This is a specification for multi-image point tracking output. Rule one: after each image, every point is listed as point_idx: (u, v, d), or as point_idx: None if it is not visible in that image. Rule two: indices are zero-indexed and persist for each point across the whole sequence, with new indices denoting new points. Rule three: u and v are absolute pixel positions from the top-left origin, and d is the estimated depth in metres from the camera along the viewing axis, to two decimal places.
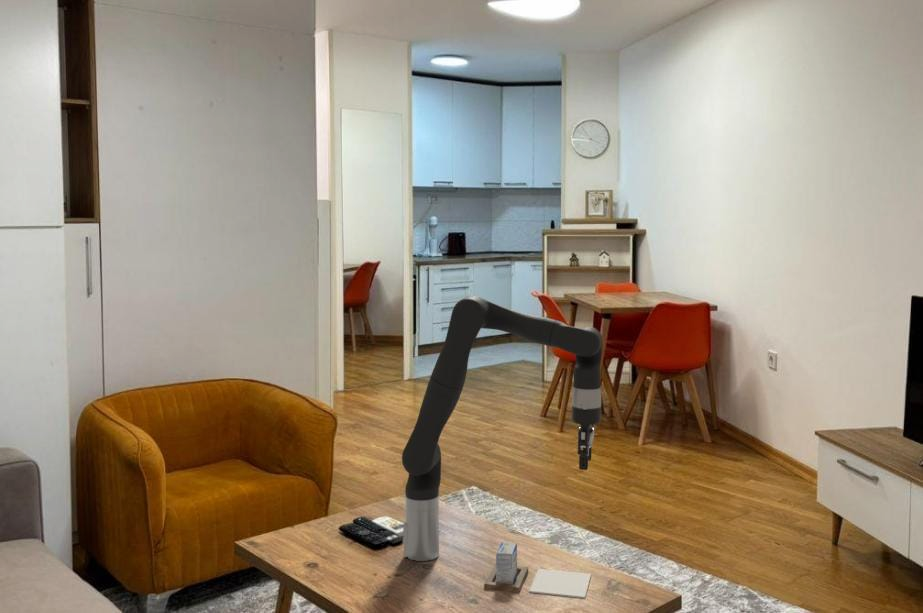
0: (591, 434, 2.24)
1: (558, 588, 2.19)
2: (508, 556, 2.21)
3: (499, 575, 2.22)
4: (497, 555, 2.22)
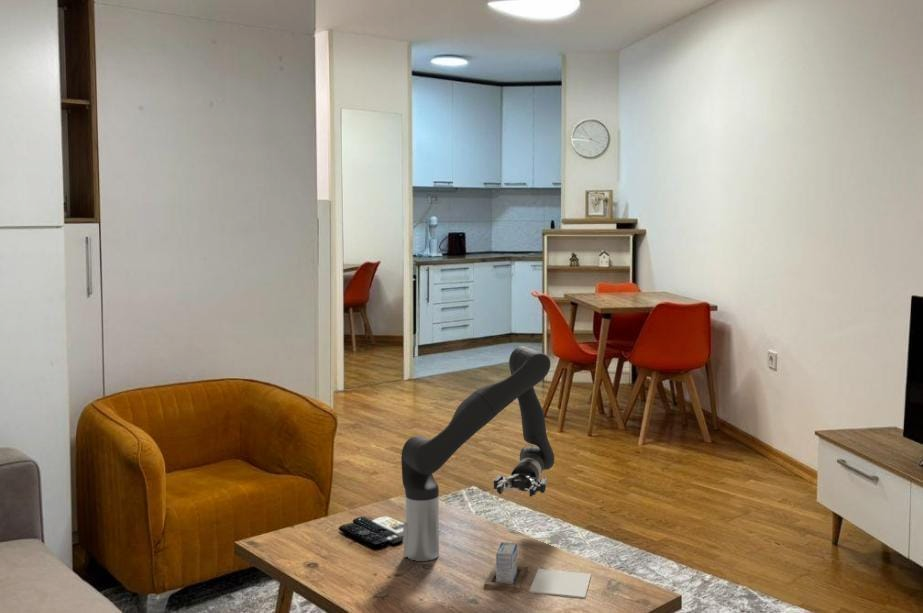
0: None
1: (558, 588, 2.19)
2: (508, 556, 2.21)
3: (499, 575, 2.22)
4: (497, 555, 2.22)
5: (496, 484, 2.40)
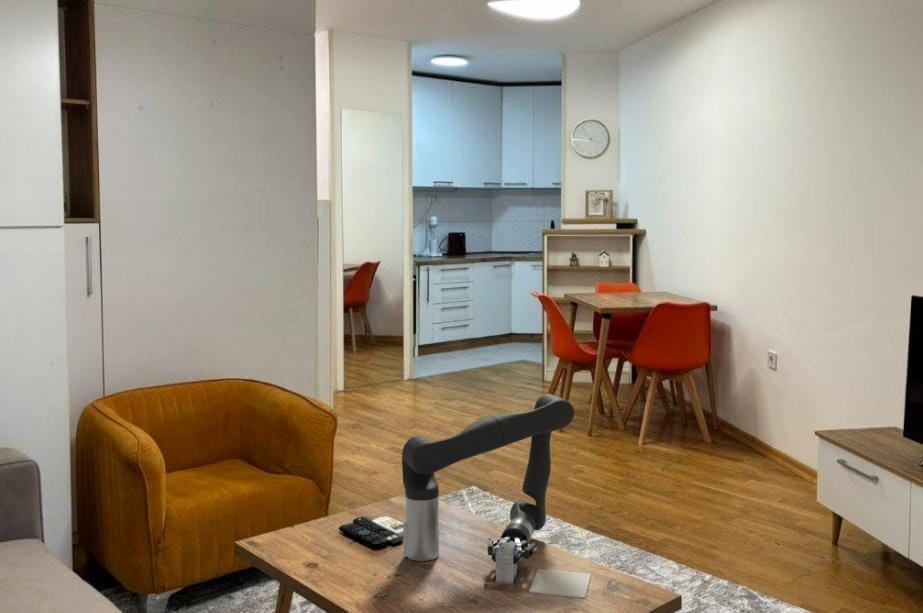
0: None
1: (558, 588, 2.19)
2: (508, 555, 2.21)
3: (499, 574, 2.22)
4: (497, 555, 2.22)
5: (491, 550, 2.28)
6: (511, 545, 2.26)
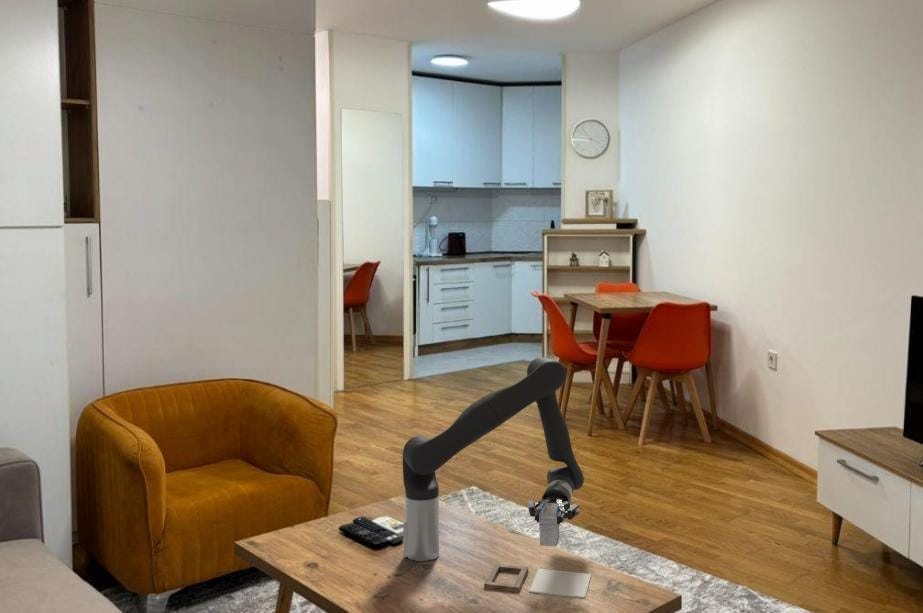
0: None
1: (558, 588, 2.19)
2: (552, 515, 2.18)
3: (543, 535, 2.19)
4: (540, 515, 2.19)
5: (533, 511, 2.25)
6: (554, 506, 2.24)
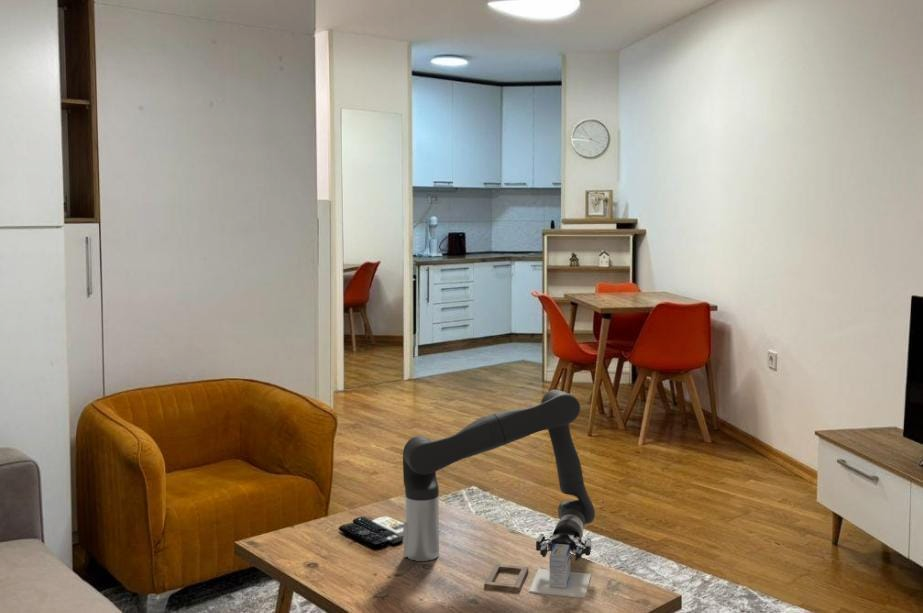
0: None
1: (558, 588, 2.19)
2: (562, 557, 2.19)
3: (553, 576, 2.20)
4: (551, 557, 2.19)
5: (539, 545, 2.26)
6: (565, 547, 2.24)
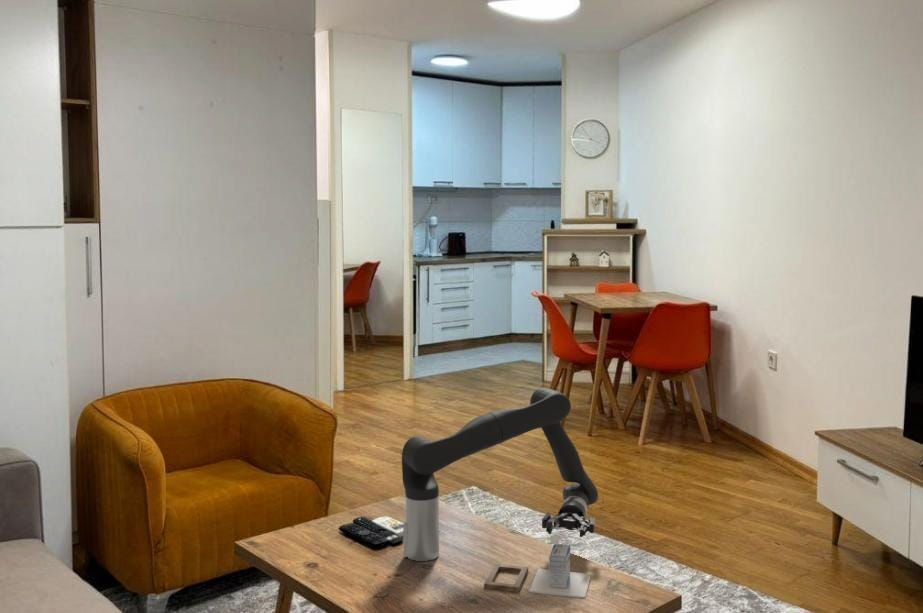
0: None
1: (558, 588, 2.19)
2: (562, 557, 2.19)
3: (553, 577, 2.20)
4: (550, 557, 2.19)
5: (545, 523, 2.39)
6: (564, 547, 2.24)
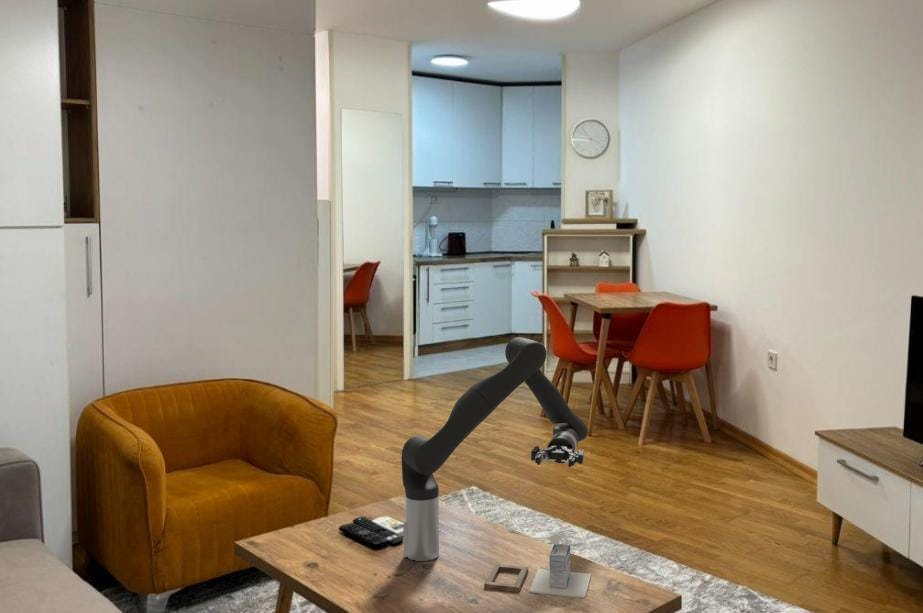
0: None
1: (558, 588, 2.19)
2: (562, 557, 2.19)
3: (553, 577, 2.20)
4: (550, 557, 2.19)
5: (534, 455, 2.40)
6: (565, 547, 2.24)
